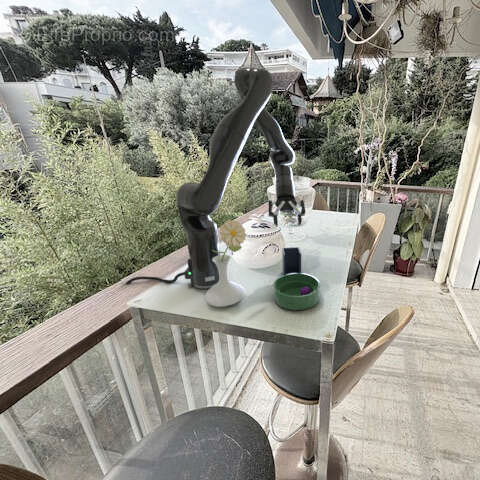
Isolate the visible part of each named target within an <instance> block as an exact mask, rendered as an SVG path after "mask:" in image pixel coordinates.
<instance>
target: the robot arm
mask: <svg viewBox="0 0 480 480" xmlns="http://www.w3.org/2000/svg"><path fill="white" fill-rule="evenodd" d="M233 79H234V80H233V83H234V87H235V90H236V92H237V93H238V95H239V97H240V99H241V100H242V101H241V102H240V103H239V104H238V105H237V106H235V108H233V109H231V110H230V112H228V113H227V114H226V115H224V116H223V118H221V119H220V120H219V121H218V123H217V125H216V126H215V128H214V131H213V133H212V135H211V137H210V141H209V146H208V148H209V149H208V153H209V155H208V156H209V162H208V166H207V169H206V171H205V173H204V175H203V177H202V179H201V181H199V182H193V181H190V182H188V181H187V182H185V183H182V184H181V185H180V186H179V187H178V189H177V192H176V205H177V211H178V216H179V220H180V225H181V227H182V229H183V230H184V232H185V239H186V244H187V250H188V259H187V268H186V269H185V270H184V271H183V272H180V273H178V274H176V275H175V276H174V278H173V279H170V280H169V279H163V278H161V277H158V276H135V277H132V278H130V279H128V280H127V281H126V282H125V285H130V284H131V283H133V282H135V281H140V280H151V281H158V282H160V283H167V284H173V283H175V282H177V280H178V278H180V277H183V276H184V279H185V280H190V286H191V287H195V288H196V289H201V290H209V289H210V288H211V287H213V286H214V285H215V284H217V283H218V282H219V271H218V268H217V265H216V264H215V263H214V262H213V261H212V259H213V258H214V257H216V256H219V255H221V253H218V252H213V251H212V250H214V251H220V252H221V250H220V240H219V233H218V232H219V231H218V226H217V224H216V223H215V222H214V221H213V220H212V218H211V217H210V216H211V215H213V214H214V213H216V211H217V209H218V208H219V206H220V204H221V201H222V198H223V195H224V192H225V189H226V187H227V184H228V180H229V178H230V176H231V174H232V171H233V169H234V167H235V165H236V163H237V160H238V158H239V156H240V154H241V152H242V150H243V148H244V146H245V144H246V142H247V139H248V137H249V134H250V133H251V131H252V129H253V127H254V124H255V123H257V125H258V127H259V129H260V130H261V132H262V135H263V137H264V139H265V141H266V144H267V146H268V147H269V149H271V151H270V153H269V161H270V163H271V166H272V168H273V170H274V177H275V183H274V184H275V186H274V187H275V201H273V200H271V199H270V200H268V217H270V218H273V219H272V220H273V226H275V227H278V226H279V224H278V223H279V222H278V221H279V220H278V216H279V215H280V214H281V213H284V214H285V213H291V212H292V214H294V215H295V216H296V222H297V226H298V227H300V226H301V225H302V222H303V220H302V217H305V216H306V213H307V212H306V206H305V201H304V199H301V200H300V201H297V200H296V192H295V191H296V190H295V184H294V179H293V170H292V168H291V166H289V165H291V164H292V165H293V163H294V162H295V160H296V154H295V152H294V150H293V148H292V147H291V146H290V145H289V144H288V142H287V141H286V139H285V137H284V134H283V132H282V129H281V127H280V125H279V123H278V122H277V120H276V119H275V118H274V117H273V115H272V114H271V113H270V112H269V111H268V110H267V108H266V107H265V106H266V104H267V103H268V101H269V100H270V97H271V95H272V92H273V89H274V80H273V79H274V78H273V76H272V74H271V72H270V71H269V70H268V69H266V68H263V67H251V66H243V67H239V68H238V69H236V71H235V73H234V78H233ZM275 206H276V209H275V211H273V208H274V207H275ZM297 206H298V207H299V208H300V210H299V208H298V207H297Z"/></svg>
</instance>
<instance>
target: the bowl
mask: <svg viewBox="0 0 480 480" xmlns="http://www.w3.org/2000/svg"><path fill="white" fill-rule="evenodd" d="M303 287H308V288H309V289H310V291H311V293H310V294H308V295H302V296H301V294H300V291H301V289H302V288H303ZM320 298H321V281H320V280H319V279H318V278H317V277H315V276H314V275H312V274H308V273H304V272H301V273H290V274H286V275H283V274H282V275H280V276H279V277H278V278H276V279H275V280H274V282H273V299H274V302H275V303H276V304H277V305H278V306H279V307H281V308H283V309H286V310H292V311H299V310H300V311H301V310H306V309H309V308H311V307H313V306H315V305H316V304H317V303H319V300H320Z"/></svg>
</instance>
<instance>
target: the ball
mask: <svg viewBox="0 0 480 480" xmlns="http://www.w3.org/2000/svg"><path fill="white" fill-rule="evenodd" d="M310 293H311V291H310V289H309V288H308V287H303V288H302V289H301V291H300V294H301V296H302V295H308V294H310Z"/></svg>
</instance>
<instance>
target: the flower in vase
mask: <svg viewBox="0 0 480 480" xmlns="http://www.w3.org/2000/svg"><path fill="white" fill-rule="evenodd" d="M219 231H220V232H219V235H220V240H221V241H222V242H223V243H224V244H225V246H226V248H225V250H224V251H221V250H220V251H214V250H212V251H213V252H218V253H220V255H219V256H216V257H214V258H213V259H212V261H213V262H214V263H215V264H216V265H217V268H218V271H219V282H218V283H217V284H215V285H214V286H213V287H211V288H209V289H207V292H206V293H205V296H204V300H205V302H206V303H208V305H210V306H213V307H217V308H222V307H229V306H233V305H235V304H237V303H239V302H240V301H241V300H242V299H243V298H244V296H245V294H246V292H245V289H244V288H243V286H242V285H241V284H238V283H237V282H234V281H232V280H230V279H229V277H228V265H229V261H230V260H231V258H232V257H231V256H230V255H227V252H228V249H229V251H231V252H233V253H236V252H238V251H240V250H241V249H242V248H243V247H242V245H241V244H244V242H245V241H246V239H247V238H246V236H247V233H246V229H245V227H244V226H243V225H242V224H240V222H239V221H238V220H235V219H232V220H231V219H227V220H225V221H224V223H223V224H221V225H220V228H219Z"/></svg>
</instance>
